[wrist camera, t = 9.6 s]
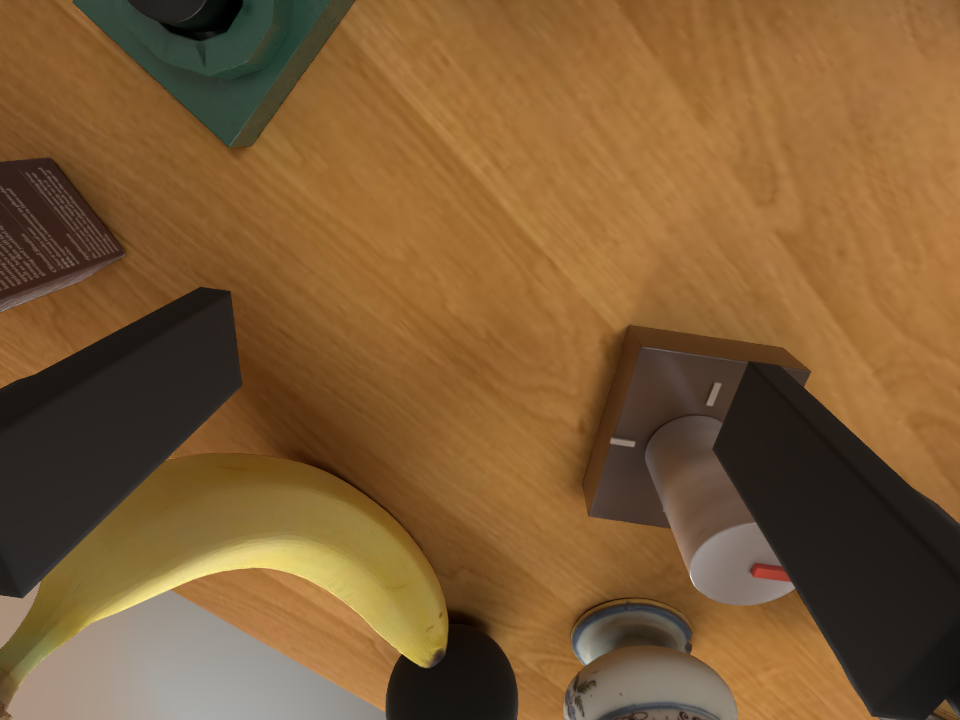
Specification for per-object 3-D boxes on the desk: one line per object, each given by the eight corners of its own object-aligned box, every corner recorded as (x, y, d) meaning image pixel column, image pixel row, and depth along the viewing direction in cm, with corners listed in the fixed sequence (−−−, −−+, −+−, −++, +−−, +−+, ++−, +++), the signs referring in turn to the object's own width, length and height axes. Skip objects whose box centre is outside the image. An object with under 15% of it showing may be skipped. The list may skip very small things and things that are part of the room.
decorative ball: (532, 663, 42) (536, 809, 33) (426, 678, 44) (404, 819, 35) (496, 586, 38) (491, 729, 29) (382, 607, 40) (344, 746, 31)
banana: (478, 563, 37) (444, 976, 19) (427, 596, 39) (353, 996, 21) (233, 370, 31) (-160, 714, 13) (188, 421, 33) (-207, 778, 15)
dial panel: (626, 324, 28) (640, 347, 25) (785, 347, 28) (815, 373, 25) (580, 484, 33) (586, 518, 30) (712, 504, 33) (731, 540, 30)
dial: (635, 479, 29) (676, 604, 21) (658, 409, 26) (714, 520, 19) (717, 490, 29) (789, 619, 21) (748, 421, 26) (840, 537, 19)
